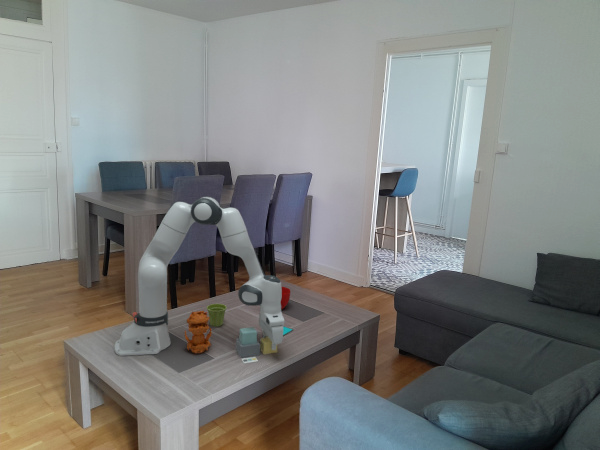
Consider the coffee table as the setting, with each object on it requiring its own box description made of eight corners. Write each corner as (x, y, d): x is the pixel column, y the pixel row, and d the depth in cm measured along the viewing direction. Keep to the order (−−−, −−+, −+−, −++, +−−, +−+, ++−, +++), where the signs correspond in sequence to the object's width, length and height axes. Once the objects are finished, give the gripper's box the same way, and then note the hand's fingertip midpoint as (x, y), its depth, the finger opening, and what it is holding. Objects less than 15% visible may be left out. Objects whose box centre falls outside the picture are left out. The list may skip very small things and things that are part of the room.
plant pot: (208, 329, 205) (209, 311, 204) (204, 321, 214) (204, 304, 212) (228, 326, 209) (228, 309, 208) (223, 319, 218) (223, 302, 216)
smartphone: (293, 329, 209) (274, 340, 197) (293, 331, 210) (274, 341, 197) (281, 325, 213) (262, 335, 201) (281, 327, 214) (261, 337, 201)
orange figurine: (187, 358, 178) (187, 316, 174) (182, 346, 187) (182, 306, 184) (214, 354, 182) (215, 313, 179) (208, 342, 192) (209, 303, 189)
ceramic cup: (255, 309, 233) (255, 291, 231) (277, 301, 245) (277, 284, 244) (272, 316, 224) (273, 297, 223) (294, 308, 237) (295, 290, 235)
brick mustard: (263, 354, 184) (264, 343, 184) (259, 349, 189) (260, 338, 188) (277, 352, 187) (277, 341, 186) (273, 347, 191) (273, 336, 190)
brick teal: (242, 345, 181) (242, 333, 180) (239, 339, 185) (239, 328, 184) (256, 343, 183) (257, 331, 182) (253, 338, 188) (253, 327, 187)
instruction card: (243, 363, 176) (243, 363, 176) (241, 358, 180) (241, 358, 179) (258, 361, 178) (258, 360, 178) (255, 356, 182) (255, 356, 182)
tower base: (240, 358, 180) (241, 347, 179) (235, 349, 187) (236, 338, 186) (259, 355, 183) (259, 344, 182) (253, 347, 190) (254, 336, 189)
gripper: (255, 305, 193) (254, 335, 196) (271, 324, 175) (270, 356, 177) (269, 304, 196) (268, 333, 198) (286, 322, 177) (285, 353, 180)
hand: (269, 344), depth 188 cm, fingers open, 8 cm apart
